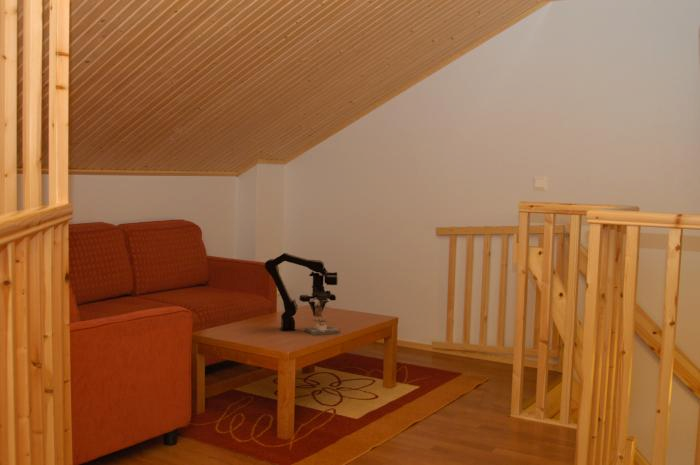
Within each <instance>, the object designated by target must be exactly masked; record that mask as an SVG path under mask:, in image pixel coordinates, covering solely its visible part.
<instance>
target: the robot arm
mask: <svg viewBox="0 0 700 465" xmlns="http://www.w3.org/2000/svg"><path fill="white" fill-rule="evenodd" d="M284 262H287V263H291V264H294V265H298V266H302V267H305V268H307V269H309V270H311V272H310V274H309V275H308V277H312V285H311V288H312V293H311V295H308V294H300V295H299V298H298V299H299V300H298V301H301V302H303V303H306V302H307V303H308V304H309V306H310V309H311V311H312V315H313V314H315V302H316V301H315V300H319V301H320V306H321V307H322V311H323V312H324V309H325V308H324V306H325V304H327V303H329V301H336V300H337V296H336V295H335V294H333V293H331V292H332V291H330V290H325V286H324V283H325V284H326V285H327V286H338V281H339V278H338V272H336V271H335V272H332V271H331V272H328V270H327V269H326V267H325V263H324V261H322V260H319V259H318V260H317V259H309V258H303V257H299V256H296V255H293V254H289V253H287V252H283V253H282V254H281V255H279V256H277V257H275V258H269V259H268V260H266V261H265V263H264V268H265V270H266V271H267V273H268V274H269V275H270V276H271V278H272V279H273V282H274V284H275V286H276V289H277V290H278V292H279V295H280V297H281V299H282V302H283V308H284V311H283V313H282V314H281V315H280V317H281V318H280V327H279V329H280V330H281V331H283V332H284V331H295V330H296V329H295V327H296V321H295V317H294V316H295V315H296V314H297V312H298V310H299V309H298V308H299V305H298V304H297V301H296V299H292V298H291V296H290V295H289V292H288V289H287V288H286V285H285V283H284V281H283V278H282V276H281V274H280V270H279V269H280V268H279V265H280V264H282V263H284Z"/></svg>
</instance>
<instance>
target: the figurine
mask: <svg viewBox="0 0 700 465" xmlns="http://www.w3.org/2000/svg"><path fill="white" fill-rule="evenodd" d="M314 302H315V306H317V305H318V306H320V301H319V300H318V299H316V301H314ZM323 309H329V310H330V306H329V305H328V304H327V303H326V304H325V306H324V308H323ZM323 312H324V310H323V311H322V313H323ZM317 321H319V322H321V321H322V322H324V321H325V319H323V316H322V317H317V320H316V322H317Z"/></svg>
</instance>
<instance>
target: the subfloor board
mask: <svg viewBox="0 0 700 465" xmlns="http://www.w3.org/2000/svg"><path fill="white" fill-rule="evenodd" d="M304 331H305V332H306V333H309V334H311V335H312V336H321V335H331V334H332V335H334V334H335V335H336V334H340V333H341V330H340V329H338V328H336V327H334V326H333V325H327V330H323V331H319V330H317V329H316V326H312V327H311V326H309V327H304Z"/></svg>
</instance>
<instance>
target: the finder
mask: <svg viewBox="0 0 700 465" xmlns="http://www.w3.org/2000/svg"><path fill="white" fill-rule="evenodd" d="M327 326H328V325H326V324H325V323H321V322H320V323H316V324H315V327H316V329H317V330H319V331H323V330H327Z"/></svg>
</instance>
